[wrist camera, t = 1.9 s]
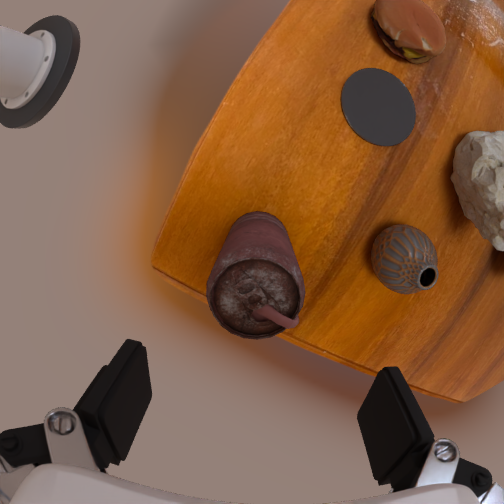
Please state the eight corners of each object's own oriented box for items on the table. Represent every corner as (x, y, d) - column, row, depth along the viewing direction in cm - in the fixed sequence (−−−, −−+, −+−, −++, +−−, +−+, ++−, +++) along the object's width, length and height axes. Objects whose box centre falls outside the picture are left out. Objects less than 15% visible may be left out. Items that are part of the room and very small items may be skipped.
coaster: (336, 135, 26) (337, 135, 25) (343, 59, 23) (344, 58, 23) (410, 154, 26) (412, 154, 26) (415, 83, 23) (416, 82, 23)
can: (273, 276, 31) (281, 357, 17) (220, 252, 30) (189, 322, 17) (299, 227, 29) (330, 281, 16) (243, 201, 28) (227, 234, 15)
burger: (409, 0, 19) (425, -15, 14) (445, 58, 21) (466, 50, 17) (350, 6, 21) (362, -12, 16) (390, 70, 23) (409, 59, 19)
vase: (403, 281, 30) (438, 316, 22) (355, 270, 30) (384, 307, 22) (421, 227, 28) (465, 250, 20) (373, 211, 28) (412, 231, 20)
